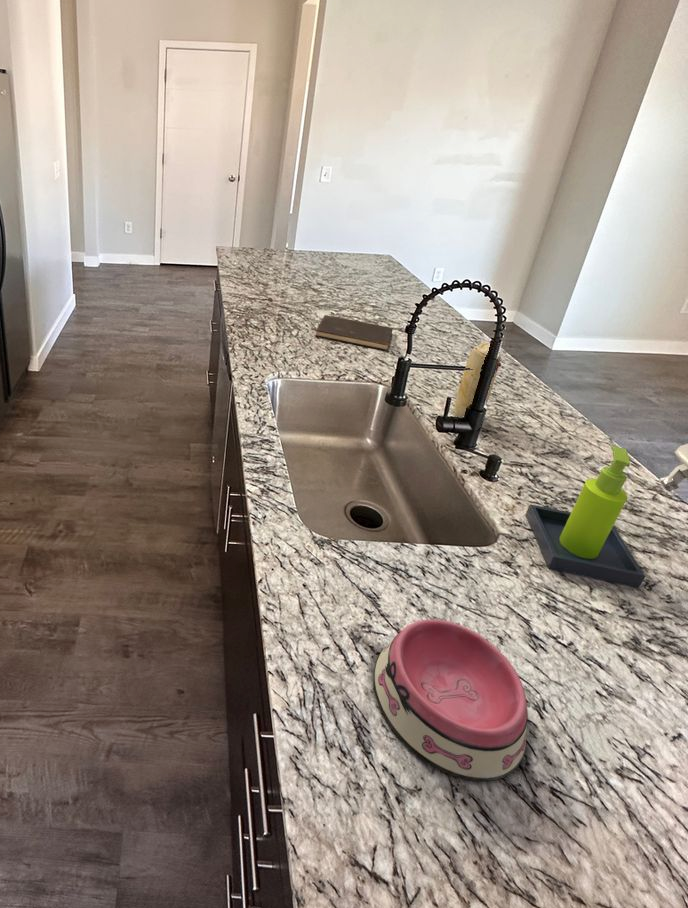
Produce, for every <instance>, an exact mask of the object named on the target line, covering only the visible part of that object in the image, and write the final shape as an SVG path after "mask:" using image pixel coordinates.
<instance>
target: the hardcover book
mask: <svg viewBox="0 0 688 908" xmlns="http://www.w3.org/2000/svg"><path fill="white" fill-rule="evenodd" d="M393 330H394V327H391V326H386V325H379V324H375V323H370V322H364V321H359V320H353V319H349V318H344V317H338V316H332V315H327V314H324V316H323V317H322V319H321V321H320V323H319V324H318V326H317V328H316V329H315V332H316V333H315V334H314V337H316V338H322V339H326V340H331V341H336V342H341V343H345V344H350V345H355V346H360V347H365V348H368V349H369V348H371V349H375V350H380V351H384V352H388V350H389V346H390V343H391V339H392V333H393Z"/></svg>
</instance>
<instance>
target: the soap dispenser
mask: <svg viewBox="0 0 688 908" xmlns="http://www.w3.org/2000/svg"><path fill="white" fill-rule="evenodd" d="M610 449H611V451H612V455H613V460H612V462H611V463H610V466H603V467H602V468H601V469H600V472H599V474H598V477H597V478H593V477H592V478H588V479H586V480H585V481H584V484H583V486H582V489H581V491H580V492H579V495H578V497H577V499H576V501H575V504H574V505H573V508H572V510H571V511H570V512H571V514H570V516H569V518H568V520H567V523H566V525H565V527H564V529H563V531H562V533H561V535H560V538H559V539H560V542H561V544H562V545H563V547H564V548H566V549H567V550H568V551H569V552H571V553H573V554H575V555H577V556H579V557H582V558H587V559H593V558H596V557H597V556H598V554H599V552H600V550H601V549H602V547H603V545H604V543H605V541H606V539H607V537H608V535H609V533H610V531H611V529H612V527H613V525H614V526H615V523H616V522H617V520H618V517H620V513H621V512H622V510H623V508H624V506H625V505H626V502H627V501H628V497H629V496H628V494H627V493H626V492H625V490H623V487H624V484H625V483H626V480H627V475H626V474H625V473H624V470H625V468H626V467H627V468H628V467H630V465H631V460H630V456H629V453H628V451H627V450H626V448H623V447H621V446H616V445H610Z"/></svg>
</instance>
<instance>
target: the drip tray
mask: <svg viewBox="0 0 688 908" xmlns="http://www.w3.org/2000/svg"><path fill="white" fill-rule="evenodd" d="M525 512H526V513H525V519H526V520H527V522H528V525H529V527H530V530H531V532H532V534H533V536H534V539H535V541H536V543H537V546H538V548H539V551H540V553H541V555H542V558H543V560H544V562H545V564H546V567H547V569H549V570H553V571H559V572H563V573H566V574H572V575H575V576H576V575H577V576H581V577H587V578H590V579H595V580H600V581H603V582H609V583H613V584H618V585H623V586H627V587H631V588H635V589H636V588H637V589H639V588H640V587H641V585H642V583H643V582H644V580H645V578H646V574H645V573H644V571H643V570H642V569H641V566H640V565H639V564H638V562H637V560H636V559H635V557H634V556H633V554H632V552H631V551H630V549H629V548H628V546H627V544H626V543H625V541H624V540H623V537H621V534H620V533H619V532H618V530H617V528H616V527H615V524H614V525H613V527H612V529H611V531H610V533H609V535H608V537H607V539H606V541H605V543H604V545H603V547H602V549H601V550H600V552H599V554H598V556H597V557H596V558H593V559H587V558H582V557H579V556H577V555H575V554H573V553H571V552H569V551H568V550H567V549H566V548H564V547H563V545H562V544H561V542H560V539H559V538H560V535H561V533H562V531H563V529H564V527H565V525H566V523H567V520H568V518H569V516H570V514H571V512H572V511H566V510H561V509H557V508H556V509H555V508H551V507H547V506H541V505H536V504H530V503H529V505H528V508H527V510H526V511H525Z"/></svg>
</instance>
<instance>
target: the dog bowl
mask: <svg viewBox="0 0 688 908" xmlns="http://www.w3.org/2000/svg"><path fill="white" fill-rule="evenodd" d="M372 675H373V680H372V681H373V691H374V694H375V698H376V702H377V704H378V707H379V709H380V711H381V713H382V715H383V717H384V719H385V720H386V723H387V724H388V725H389V727H390V728H391V730H392V731H393V733H394V734H395V735H396V737H398V740H400V741H401V742H402V743H403V744H404V745H405V746H406V747H407V749H409V750H410V751H411V752H412V753H413V754H415V755H416V757H418V758H419V759H421V760H422V761H423V762H424V763H426V764H428V765H429V766H431V767H433V768H435V769H437V770H439V771H440V772H443V773H445V774H447V775H449V776H451V777H455V778H458V779H462V780H466V781H471V782H491V781H498V780H499V779H503V778H505V777H507V776H509V775H511V773H513V772H514V771H515V770H516V769H517V768H518V767H519V766H520V764H521V762H522V760H523V758H524V756H525V751H526V747H527V746H526V745H527V727H528V726H527V725H528V715H529V714H528V713H529V712H528V703H527V696H526V691H525V689H524V685H523V683H522V680H521V678H520V676H519V675H518V673H517V671H516V669H515V668H514V666H513V665H512V663H511V662H510V661H509V659H507V657H506V656H505V655H504V654H503V653H502V652H501V651H500V650H499V649H498V648H497V647H496V646H495V645H493V643H491V642H490V641H489V640H488V639H486V638H485V637H483V636H482V635H480V634H479V633H477V632H475V631H474V630H472V629H469V628H468V627H466V626H463V625H461V624H458V623H455V622H452V621H448V620H444V619H436V618H435V619H434V618H432V619H430V618H429V619H421V620H418V621H414V622H411V623H410V624H408V625H407V626H406V627H404V628H403V629H402V630H401V631H398V633H397V634H396V635H395V636H394V637H393V639H392V641H391V642H390V643H389V644H387V645H386V646H385V647H384V648H383V649H382V650H381V651H380V653H379V655H378V657H377V659H376V661H375V664H374V667H373V674H372Z"/></svg>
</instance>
